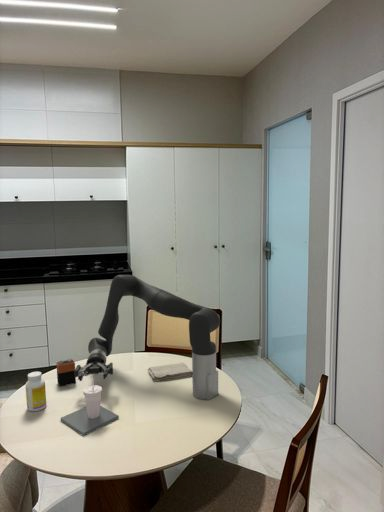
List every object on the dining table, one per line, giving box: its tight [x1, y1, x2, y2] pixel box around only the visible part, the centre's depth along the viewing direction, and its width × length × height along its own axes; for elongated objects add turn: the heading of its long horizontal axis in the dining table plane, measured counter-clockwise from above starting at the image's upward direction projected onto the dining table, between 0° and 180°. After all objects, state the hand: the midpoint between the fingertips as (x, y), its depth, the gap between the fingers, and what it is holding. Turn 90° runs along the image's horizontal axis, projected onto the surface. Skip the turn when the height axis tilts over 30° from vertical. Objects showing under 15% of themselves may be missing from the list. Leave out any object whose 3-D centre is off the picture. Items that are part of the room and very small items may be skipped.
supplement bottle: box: [25, 371, 47, 412], centre depth 144 cm, size 7×7×13 cm
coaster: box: [60, 405, 119, 437], centre depth 136 cm, size 14×14×1 cm
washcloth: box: [147, 362, 192, 382], centre depth 172 cm, size 12×18×3 cm, turn 110°
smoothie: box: [82, 377, 103, 419], centre depth 136 cm, size 6×6×14 cm
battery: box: [56, 358, 77, 387], centre depth 164 cm, size 4×7×10 cm, turn 118°
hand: (92, 377), depth 146 cm, fingers open, 8 cm apart
